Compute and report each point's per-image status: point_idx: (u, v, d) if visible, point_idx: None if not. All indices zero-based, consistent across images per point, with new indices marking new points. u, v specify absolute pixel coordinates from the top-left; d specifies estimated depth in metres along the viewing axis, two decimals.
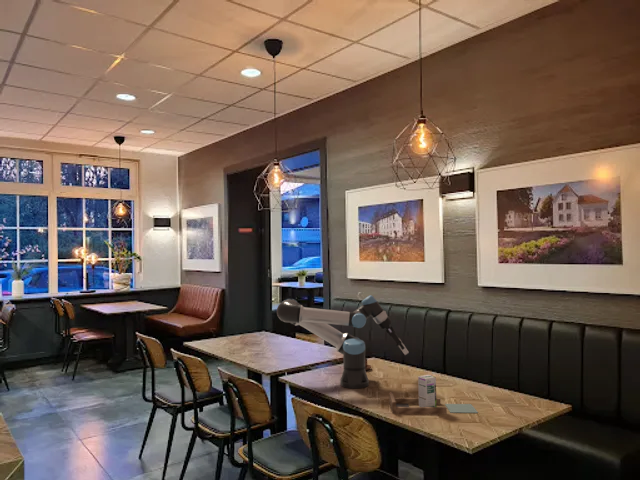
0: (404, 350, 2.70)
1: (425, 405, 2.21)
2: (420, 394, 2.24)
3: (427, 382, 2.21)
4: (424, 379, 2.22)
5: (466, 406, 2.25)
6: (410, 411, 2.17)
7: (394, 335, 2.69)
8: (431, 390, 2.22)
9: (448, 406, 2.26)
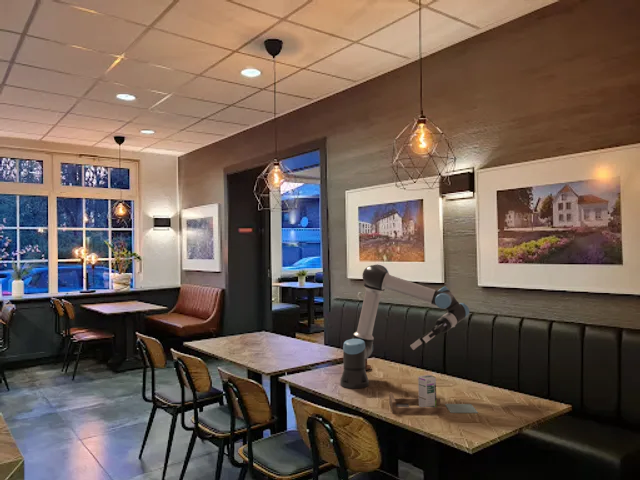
0: (427, 337, 2.40)
1: (425, 405, 2.21)
2: (420, 394, 2.24)
3: (427, 382, 2.21)
4: (424, 379, 2.22)
5: (466, 406, 2.25)
6: (410, 411, 2.17)
7: (442, 327, 2.44)
8: (431, 390, 2.22)
9: (448, 406, 2.26)
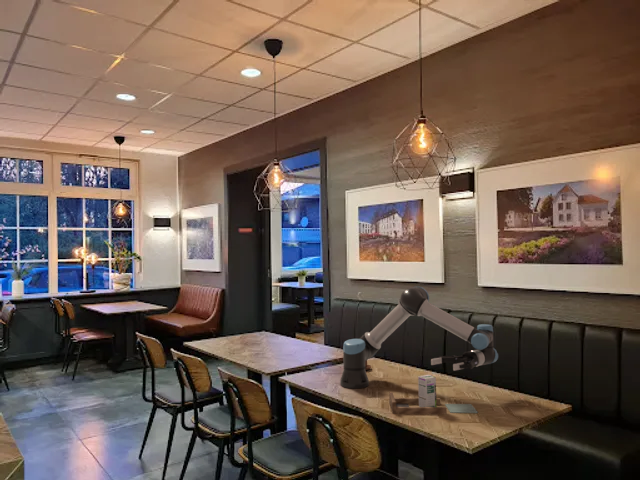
0: (457, 366, 2.25)
1: (425, 405, 2.21)
2: (420, 394, 2.24)
3: (427, 382, 2.21)
4: (424, 379, 2.22)
5: (466, 406, 2.25)
6: (410, 411, 2.17)
7: (473, 365, 2.30)
8: (431, 390, 2.22)
9: (448, 406, 2.26)
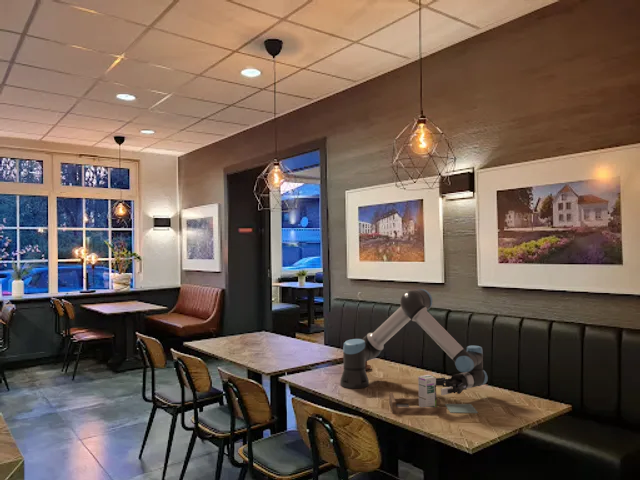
0: (445, 391, 2.20)
1: (425, 405, 2.21)
2: (420, 394, 2.24)
3: (427, 382, 2.21)
4: (424, 379, 2.22)
5: (466, 406, 2.25)
6: (410, 411, 2.17)
7: (462, 389, 2.24)
8: (431, 390, 2.22)
9: (448, 406, 2.26)
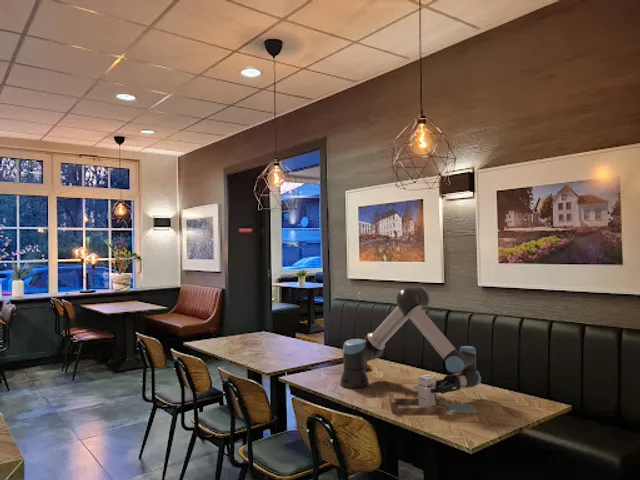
0: (428, 391, 2.19)
1: (425, 405, 2.21)
2: (420, 394, 2.24)
3: (427, 382, 2.21)
4: (424, 379, 2.21)
5: (466, 406, 2.25)
6: (410, 411, 2.17)
7: (449, 389, 2.23)
8: None
9: (448, 406, 2.26)
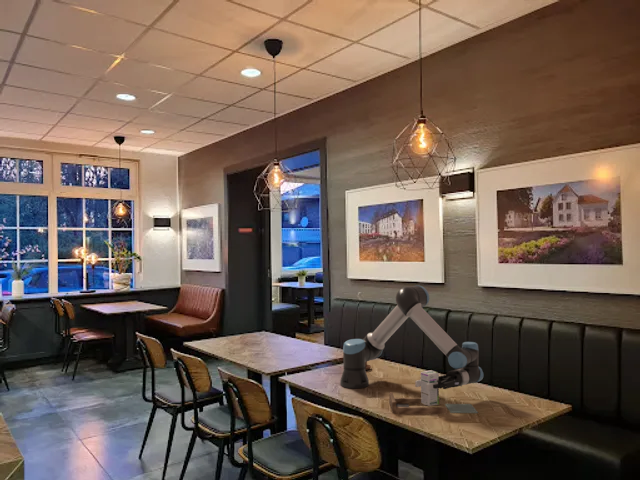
0: (431, 386, 2.19)
1: (428, 400, 2.20)
2: (422, 389, 2.24)
3: (429, 377, 2.21)
4: (426, 374, 2.21)
5: (466, 406, 2.25)
6: (410, 411, 2.17)
7: (451, 385, 2.22)
8: None
9: (448, 406, 2.26)
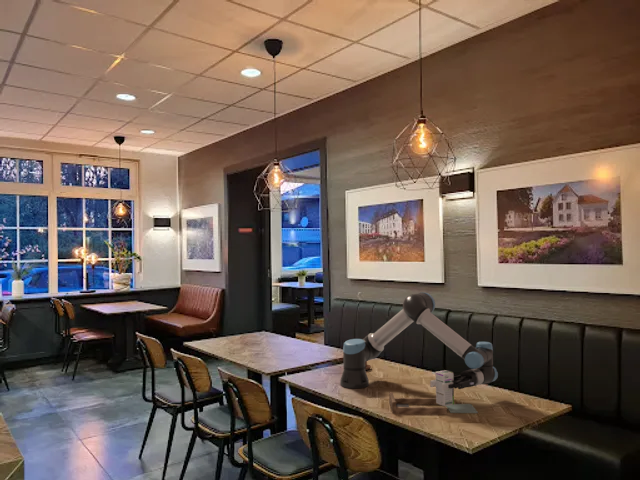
0: (446, 386, 2.18)
1: (443, 400, 2.20)
2: (437, 389, 2.23)
3: (445, 377, 2.20)
4: (442, 374, 2.20)
5: (466, 406, 2.25)
6: (410, 411, 2.17)
7: (466, 385, 2.22)
8: None
9: (448, 406, 2.26)
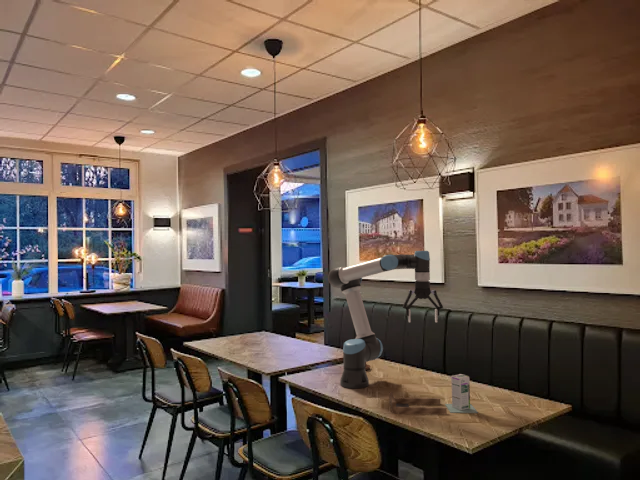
0: (408, 317, 2.54)
1: (459, 404, 2.20)
2: (453, 394, 2.23)
3: (461, 381, 2.20)
4: (458, 378, 2.21)
5: None
6: (410, 411, 2.17)
7: (406, 298, 2.54)
8: (465, 389, 2.21)
9: (448, 406, 2.26)
